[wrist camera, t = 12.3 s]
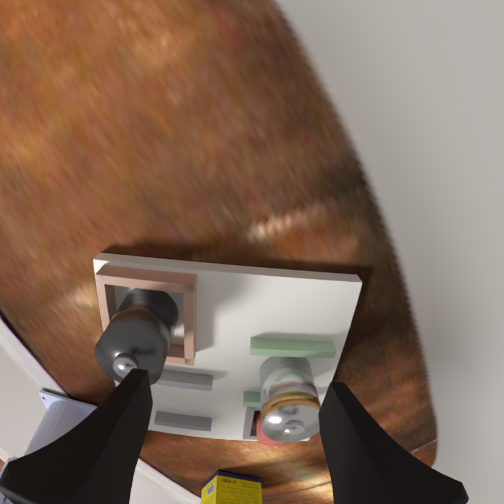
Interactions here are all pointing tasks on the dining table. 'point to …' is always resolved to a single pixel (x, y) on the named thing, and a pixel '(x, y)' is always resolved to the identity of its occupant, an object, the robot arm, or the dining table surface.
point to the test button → (260, 434)
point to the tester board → (231, 334)
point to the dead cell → (138, 335)
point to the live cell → (288, 399)
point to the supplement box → (231, 489)
